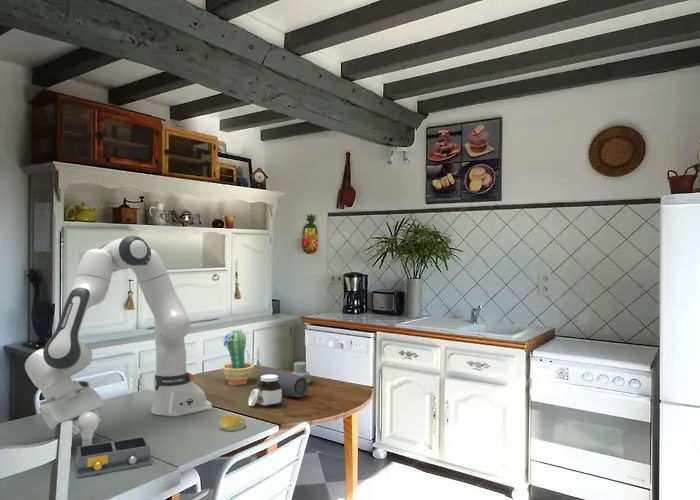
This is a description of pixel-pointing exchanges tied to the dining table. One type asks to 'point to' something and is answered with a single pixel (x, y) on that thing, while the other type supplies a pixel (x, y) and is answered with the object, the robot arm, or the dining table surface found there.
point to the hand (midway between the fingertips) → (89, 428)
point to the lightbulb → (87, 426)
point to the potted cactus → (236, 359)
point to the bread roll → (231, 423)
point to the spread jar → (267, 392)
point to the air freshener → (301, 370)
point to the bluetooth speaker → (288, 382)
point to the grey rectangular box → (112, 456)
